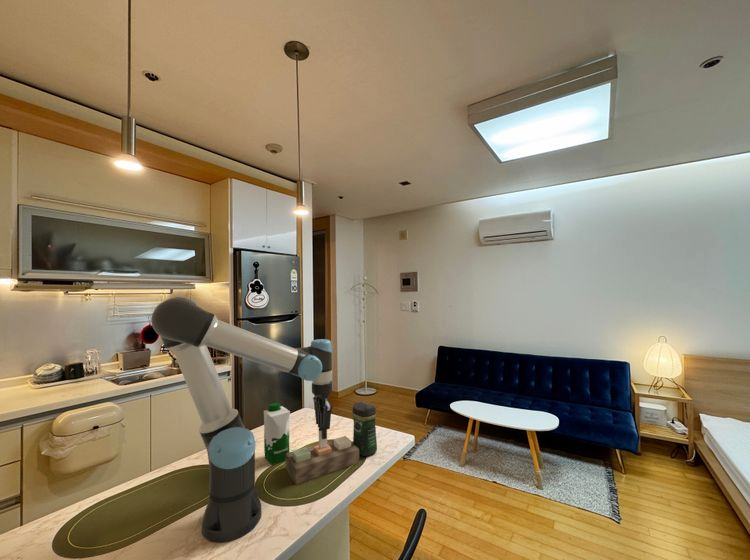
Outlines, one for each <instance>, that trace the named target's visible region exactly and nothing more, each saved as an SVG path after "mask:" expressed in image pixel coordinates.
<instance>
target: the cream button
mask: <svg viewBox="0 0 750 560" xmlns="http://www.w3.org/2000/svg"><path fill="white" fill-rule="evenodd" d="M333 440H334V446H335V447H336V448H337V449H338V450H342V449H345V448H349V447H351V442H352V440H351V439H350V438H348V437H347V436H346V435H344V436H340V437H336V438H333Z"/></svg>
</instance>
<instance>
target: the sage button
mask: <svg viewBox="0 0 750 560" xmlns="http://www.w3.org/2000/svg"><path fill="white" fill-rule="evenodd" d="M291 452H292V458H293V460H294V461H295V462H296V463H299V462H303V461H306V460H309V459H311V453H310V451H309V450H308V449H307V446H304V447H301V448H298V449H297V448H296V449H294V450H292V451H291Z"/></svg>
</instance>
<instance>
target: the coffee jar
mask: <svg viewBox="0 0 750 560" xmlns="http://www.w3.org/2000/svg"><path fill="white" fill-rule="evenodd" d="M351 411H352V413H351V414H352V421H353V433H352V434H353V437H352V443H353V444H354V445H355V446H356V447H357V448H359V456H360V455H361V456H363V457H367V456H373V455H374V454H375V453H377V451H378V442H377V441H378V440H377V432H376V431H377V430H376V429H377V428H376V418H377V407H376V406H375V405H373V404H370V403H367V402H363V401H359V402H358V401H357V402H355V403H354V404H353V405H352V410H351Z"/></svg>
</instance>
